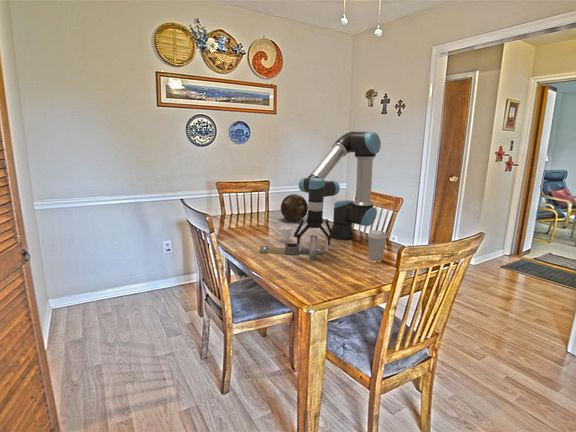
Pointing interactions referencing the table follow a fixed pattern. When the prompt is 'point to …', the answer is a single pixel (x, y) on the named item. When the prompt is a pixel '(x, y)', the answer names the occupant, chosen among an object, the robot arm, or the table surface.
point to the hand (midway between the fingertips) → (313, 250)
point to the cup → (285, 233)
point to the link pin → (313, 247)
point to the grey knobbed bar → (289, 249)
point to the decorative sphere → (294, 207)
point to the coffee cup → (376, 245)
